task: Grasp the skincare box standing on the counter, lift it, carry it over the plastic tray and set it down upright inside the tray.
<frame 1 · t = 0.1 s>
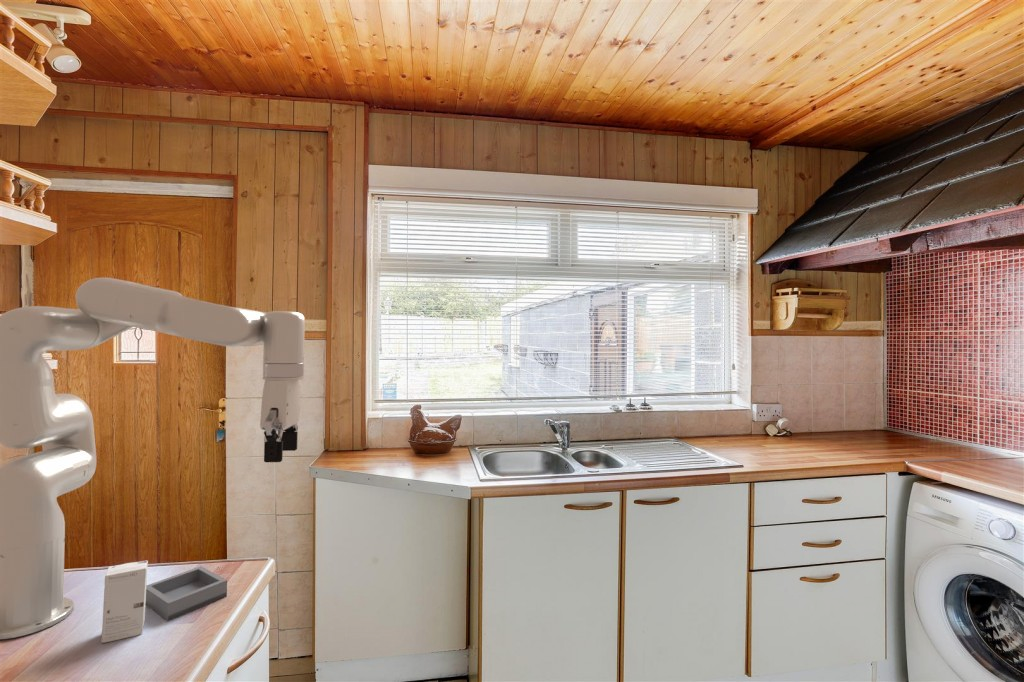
hand: (281, 455, 98), 31 cm above the countertop, tool pointing down, fingers open, 9 cm apart
skincare box: (124, 633, 89), on the countertop
tray: (185, 600, 100), on the countertop
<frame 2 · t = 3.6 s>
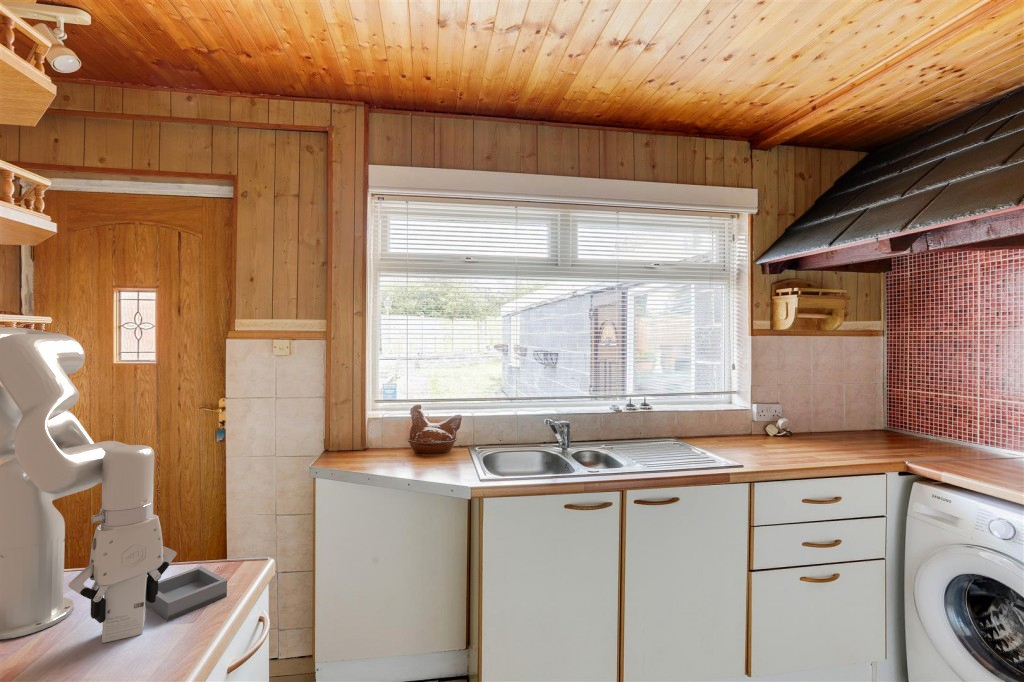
hand: (125, 609, 89), 4 cm above the countertop, tool pointing down, fingers closed on skincare box, 7 cm apart
skincare box: (124, 633, 89), on the countertop, touching gripper
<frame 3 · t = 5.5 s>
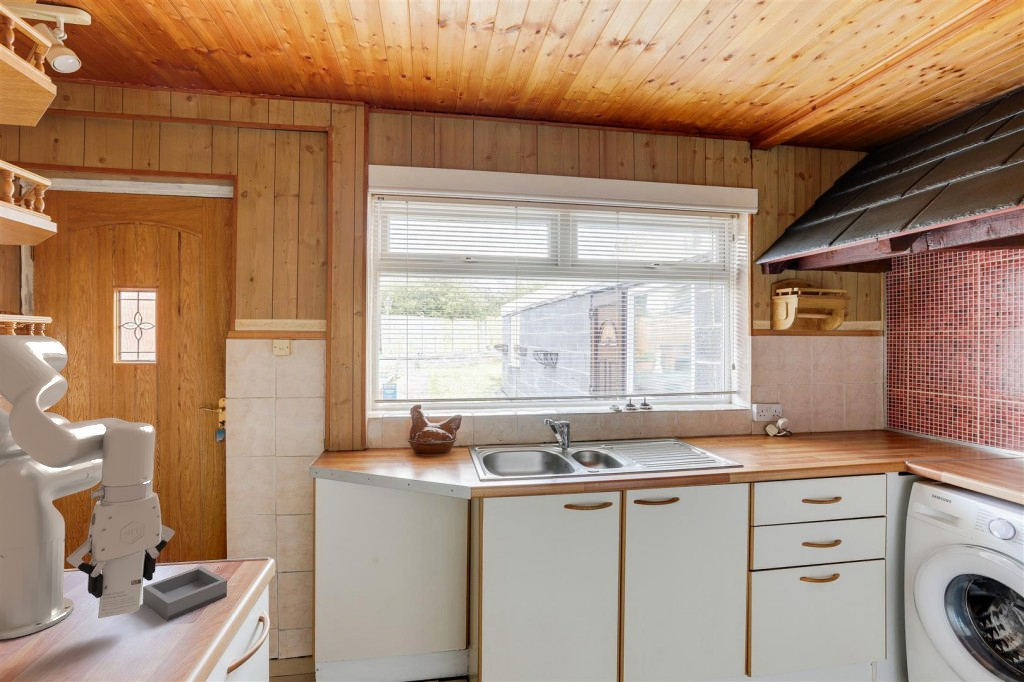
hand: (122, 585, 89), 9 cm above the countertop, tool pointing down, fingers closed on skincare box, 7 cm apart
skincare box: (121, 610, 89), point 4 cm above the countertop, touching gripper
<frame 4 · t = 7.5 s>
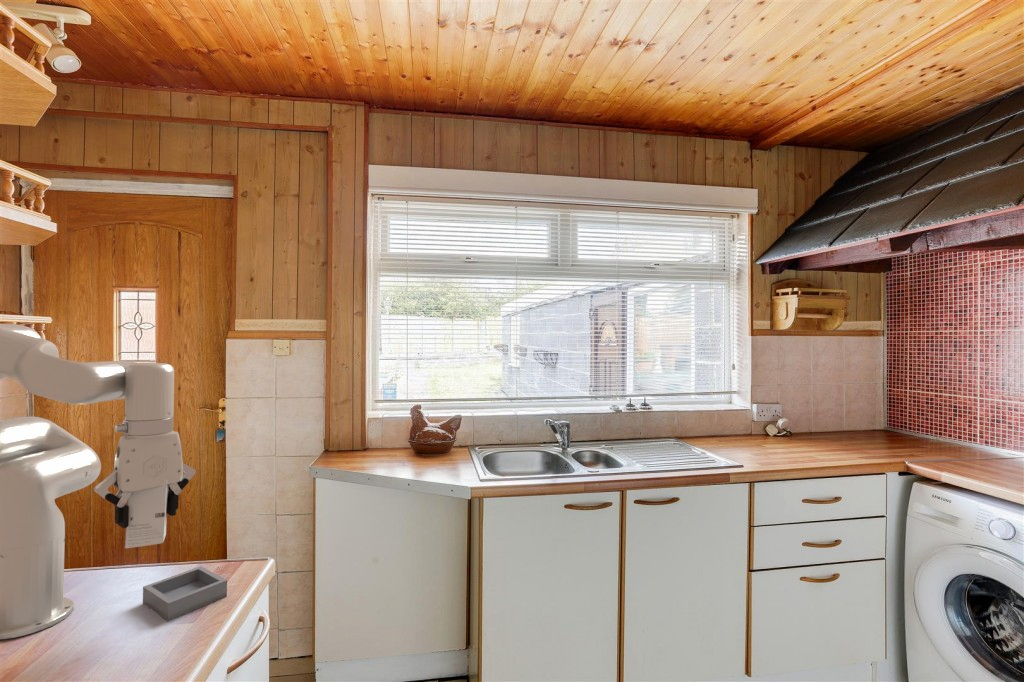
hand: (147, 519, 92), 20 cm above the countertop, tool pointing down, fingers closed on skincare box, 7 cm apart
skincare box: (146, 543, 92), point 15 cm above the countertop, touching gripper
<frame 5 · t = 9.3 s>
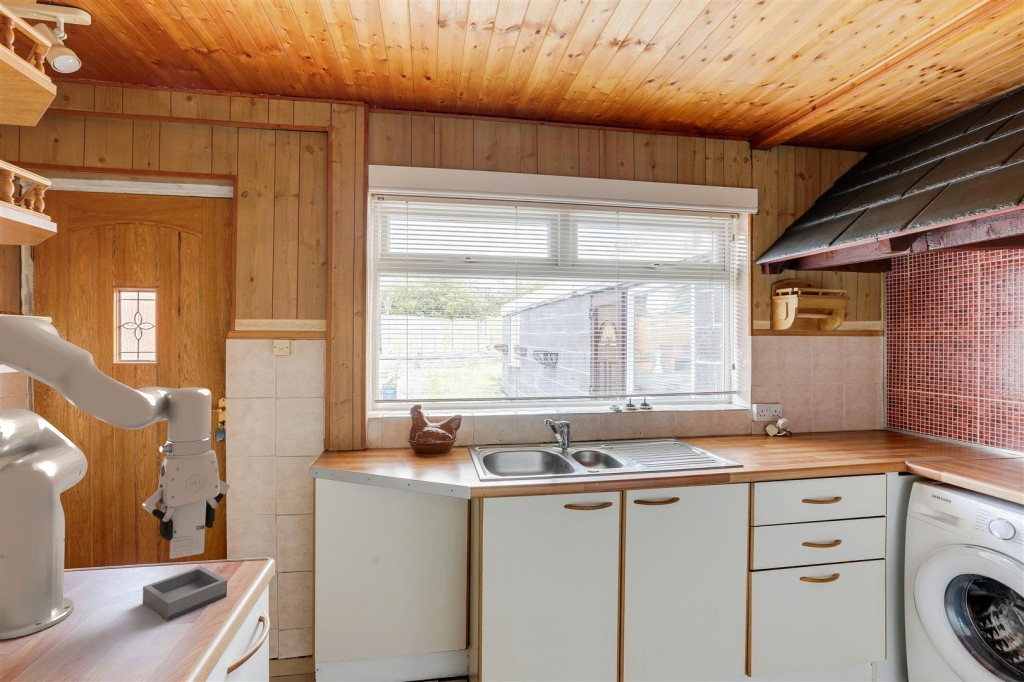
hand: (188, 531, 101), 14 cm above the countertop, tool pointing down, fingers closed on skincare box, 7 cm apart
skincare box: (187, 553, 101), point 10 cm above the countertop, touching gripper
when the fingers open (7 cm above the countertop, at t = 11.1 s): skincare box drops 1 cm, resting on tray.
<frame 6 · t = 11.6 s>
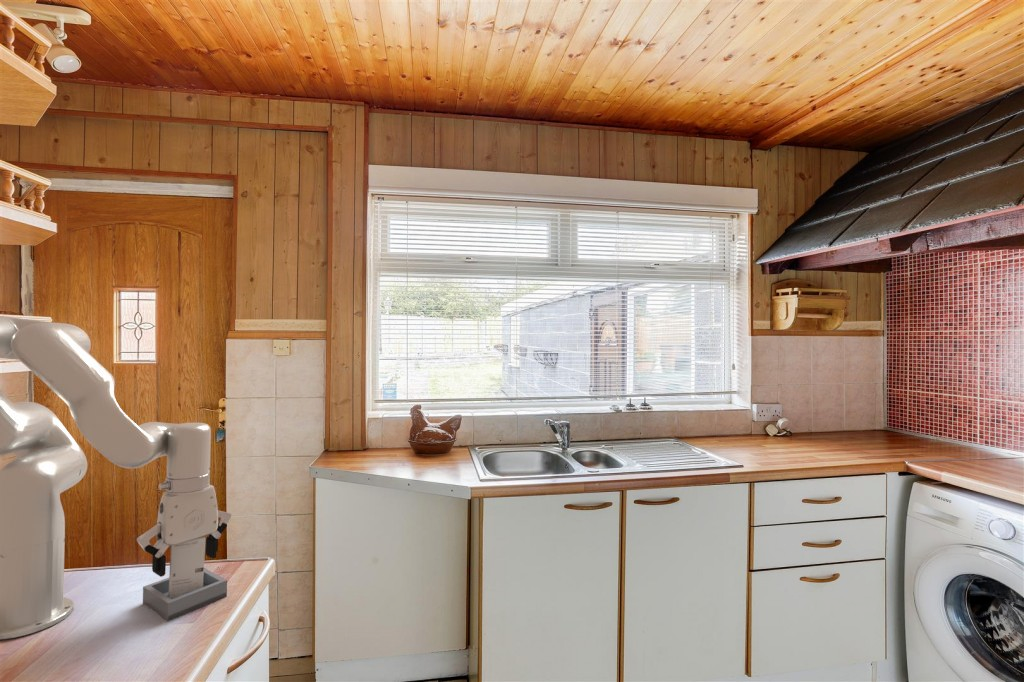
hand: (186, 565, 100), 7 cm above the countertop, tool pointing down, fingers open, 9 cm apart
skincare box: (186, 595, 101), point 1 cm above the countertop, touching tray
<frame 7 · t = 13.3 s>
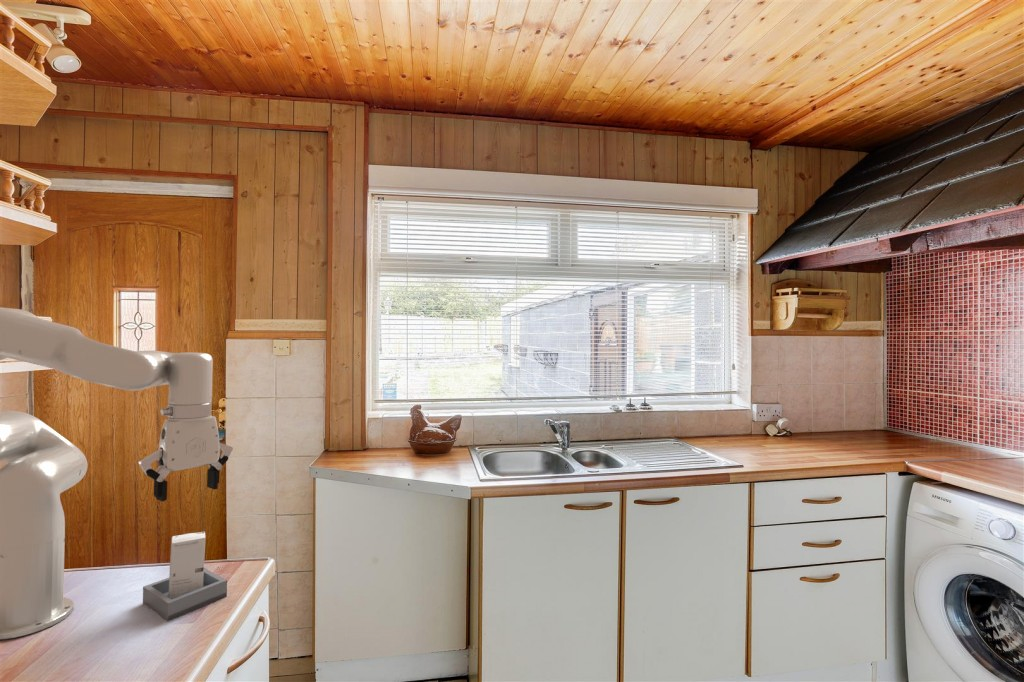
hand: (187, 493, 100), 22 cm above the countertop, tool pointing down, fingers open, 9 cm apart
nothing on the countertop moved.
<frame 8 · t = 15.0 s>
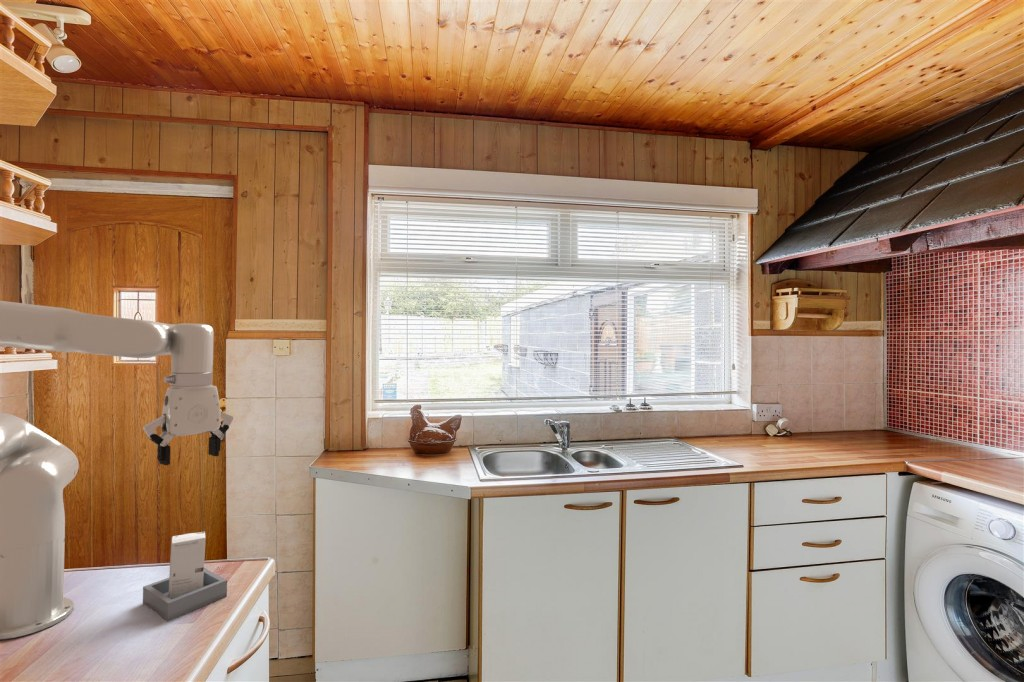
hand: (190, 459, 104), 28 cm above the countertop, tool pointing down, fingers open, 9 cm apart
nothing on the countertop moved.
at the end: skincare box 0.2 cm off-centre on the tray, point 0.8 cm above the tray's base; skincare box tilted 0°; the gripper is holding nothing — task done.
